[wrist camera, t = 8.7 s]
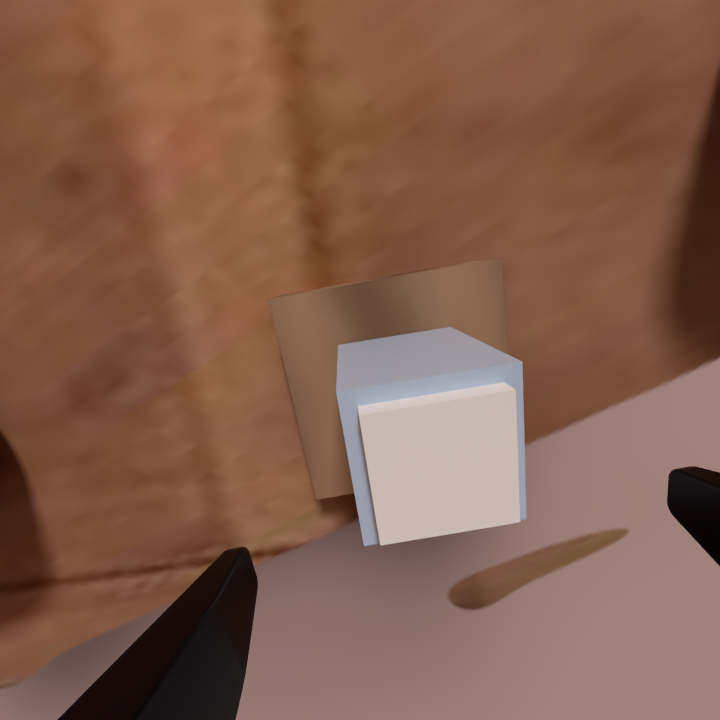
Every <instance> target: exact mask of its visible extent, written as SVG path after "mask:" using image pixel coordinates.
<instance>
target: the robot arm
mask: <svg viewBox="0 0 720 720" xmlns="http://www.w3.org/2000/svg"><path fill="white" fill-rule="evenodd" d="M667 504H668V507H669V510H670V512H671V513H672V515H673V516H674V517H675V518H676V519H677V520H678V522H679V523H680V524H681V525H682V526H683V527H684V528H685V529H686V530H687V531H688V532H689V533H690V535H691V536H692V537H693V538H694V539H695V540H696V541H697V542H698V543H699V544H700V545H701V546H702V548H703V549H704V550H705V551H706V552H707V553H708V554H709V555H710V556H711V557H712V558H713V559H714V561H715V562H716V563H717V564H718V565H719V566H720V473H719V472H715V471H711V470H707V469H703V468H699V467H685V468H679V469H674V470H673V471H671V473H670V474H669V480H668V496H667ZM257 588H258V581H257V576H256V572H255V569H254V566H253V563H252V560H251V557H250V553H249V551H248V549H247V548H246V547H238V548H232V549H228V550H226V551H225V552H223V553H222V554H221V555H220V556H219V557H218V558H217V559H216V560H215V561H214V562H213V563H212V564H211V565H210V566H209V567H208V568H207V569H206V570H205V571H204V572H203V573H202V574H201V575H200V576H199V578H198V579H197V580H196V581H195V582H194V583H193V584H192V585H191V586H190V587H189V588H188V589H187V590H186V591H185V592H184V593H183V594H182V595H181V596H180V597H179V598H178V599H177V600H176V601H175V602H174V603H173V604H172V605H171V606H170V607H169V608H168V609H167V610H166V611H165V612H164V613H163V614H162V615H161V616H160V617H159V618H158V619H157V620H156V621H155V622H154V623H153V624H152V625H151V626H150V627H149V628H148V629H147V630H146V631H145V632H144V633H143V634H142V635H141V636H140V637H139V638H138V639H137V640H136V641H135V642H134V643H133V644H132V645H131V646H130V647H129V648H128V649H127V650H126V651H125V652H124V653H123V654H122V655H121V656H120V657H119V658H118V659H117V660H116V661H115V662H114V663H113V664H112V665H111V666H110V667H109V668H108V669H107V670H106V671H105V672H104V673H103V674H102V675H101V676H100V677H99V678H98V679H97V680H96V681H95V682H94V683H93V684H92V685H91V686H90V687H89V688H88V689H87V690H86V692H84V693H83V694H82V695H81V696H80V697H79V698H78V700H76V702H75V703H74V704H73V705H72V706H71V707H70V708H69V709H68V710H67V711H66V712H65V713H64V714H63V715H62V716H61V717H60V718H59V719H58V720H235V719H236V714H237V711H238V706H239V702H240V698H241V693H242V688H243V684H244V678H245V673H246V666H247V660H248V653H249V646H250V638H251V632H252V625H253V618H254V610H255V603H256V597H257Z"/></svg>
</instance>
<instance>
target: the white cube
mask: <svg viewBox="0 0 720 720" xmlns="http://www.w3.org/2000/svg"><path fill="white" fill-rule="evenodd" d="M336 394H337V400H338V406H339V411H340V417H341V422H342V428H343V433H344V439H345V444H346V450H347V455H348V461H349V467H350V472H351V478H352V483H353V489H354V494H355V500H356V505H357V511H358V516H359V522H360V527H361V533H362V539H363V544H364V546H368V545H375V544H380V545H381V546H382V545H388V544H393V543H399V542H405V541H411V540H417V539H423V538H429V537H435V536H441V535H447V534H453V533H459V532H464V531H470V530H476V529H482V528H488V527H494V526H500V525H506V524H512V523H518V522H520V520H523V519H526V484H525V483H526V482H525V481H526V480H525V443H524V405H523V367H522V361H520V360H518V359H516V358H514V357H512V356H510V355H508V354H505V353H503V352H501V351H499V350H497V349H495V348H493V347H491V346H489V345H487V344H485V343H483V342H481V341H479V340H477V339H475V338H473V337H470V336H468V335H466V334H464V333H462V332H460V331H458V330H456V329H454V328H452V327H447V328H441V329H434V330H428V331H422V332H415V333H409V334H403V335H397V336H390V337H384V338H378V339H372V340H365V341H359V342H353V343H347V344H340V345H338V359H337V381H336Z"/></svg>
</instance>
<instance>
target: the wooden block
mask: <svg viewBox="0 0 720 720" xmlns="http://www.w3.org/2000/svg"><path fill="white" fill-rule="evenodd" d="M268 301H269V305H270V309H271V313H272V317H273V322H274V326H275V330H276V334H277V338H278V342H279V346H280V351H281V355H282V359H283V363H284V367H285V371H286V376H287V380H288V384H289V388H290V392H291V396H292V400H293V405H294V409H295V413H296V417H297V421H298V425H299V430H300V434H301V438H302V442H303V446H304V450H305V454H306V459H307V463H308V467H309V471H310V475H311V479H312V484H313V488H314V492H315V496H316V500H318V499H324V498H330V497H336V496H342V495H347V494H353V493H354V489H353V483H352V478H351V472H350V467H349V461H348V455H347V450H346V444H345V439H344V433H343V428H342V422H341V417H340V411H339V406H338V400H337V394H336V381H337V359H338V345H340V344H347V343H353V342H359V341H365V340H372V339H378V338H384V337H390V336H397V335H403V334H409V333H415V332H422V331H428V330H434V329H441V328H447V327H452V328H454V329H456V330H458V331H460V332H462V333H464V334H466V335H468V336H470V337H473V338H475V339H477V340H479V341H481V342H483V343H485V344H487V345H489V346H491V347H493V348H495V349H497V350H499V351H501V352H503V353H505V354H508V342H507V326H506V309H505V293H504V277H503V260H502V258H495V259H485V260H476V261H470V262H464V263H459V264H453V265H448V266H442V267H436V268H431V269H425V270H420V271H414V272H408V273H403V274H397V275H392V276H386V277H381V278H375V279H369V280H364V281H358V282H353V283H347V284H341V285H336V286H330V287H325V288H319V289H313V290H308V291H302V292H297V293H291V294H285V295H281V296H278V297H275V298H272V299H269V300H268Z"/></svg>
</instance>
